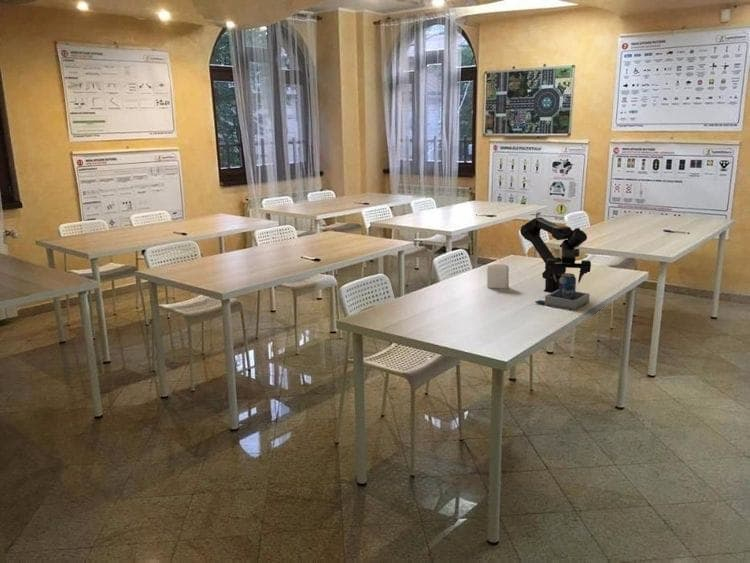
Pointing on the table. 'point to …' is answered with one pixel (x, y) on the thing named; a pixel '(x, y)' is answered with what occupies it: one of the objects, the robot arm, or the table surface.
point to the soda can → (567, 286)
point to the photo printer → (498, 275)
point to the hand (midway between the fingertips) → (567, 282)
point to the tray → (567, 300)
